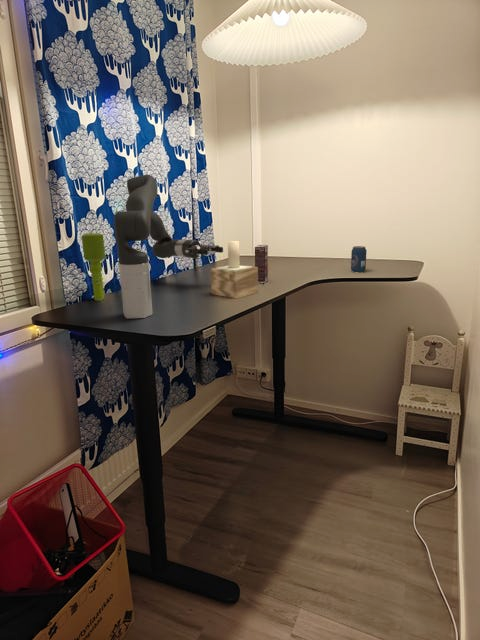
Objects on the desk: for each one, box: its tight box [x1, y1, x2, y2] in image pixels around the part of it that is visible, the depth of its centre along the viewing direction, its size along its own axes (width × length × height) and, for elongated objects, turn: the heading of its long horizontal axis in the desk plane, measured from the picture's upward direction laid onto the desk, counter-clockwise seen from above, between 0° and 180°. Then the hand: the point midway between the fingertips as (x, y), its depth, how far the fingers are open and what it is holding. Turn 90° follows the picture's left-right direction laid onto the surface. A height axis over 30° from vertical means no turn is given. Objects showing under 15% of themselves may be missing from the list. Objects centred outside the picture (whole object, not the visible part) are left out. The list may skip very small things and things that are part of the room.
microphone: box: [81, 232, 106, 301], centre depth 169 cm, size 8×8×25 cm
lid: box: [215, 240, 253, 271], centre depth 173 cm, size 10×10×11 cm
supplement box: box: [254, 244, 269, 284], centre depth 196 cm, size 9×5×16 cm, turn 168°
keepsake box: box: [210, 265, 259, 299], centre depth 175 cm, size 13×13×10 cm
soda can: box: [350, 245, 367, 273], centre depth 215 cm, size 7×7×12 cm
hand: (215, 250), depth 179 cm, fingers open, 8 cm apart
